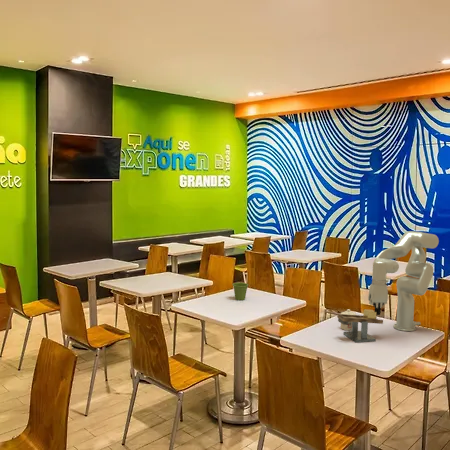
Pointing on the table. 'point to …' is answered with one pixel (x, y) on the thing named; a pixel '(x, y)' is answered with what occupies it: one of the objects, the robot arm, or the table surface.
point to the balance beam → (355, 319)
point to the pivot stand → (359, 333)
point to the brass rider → (369, 314)
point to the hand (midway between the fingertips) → (377, 314)
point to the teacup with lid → (349, 326)
